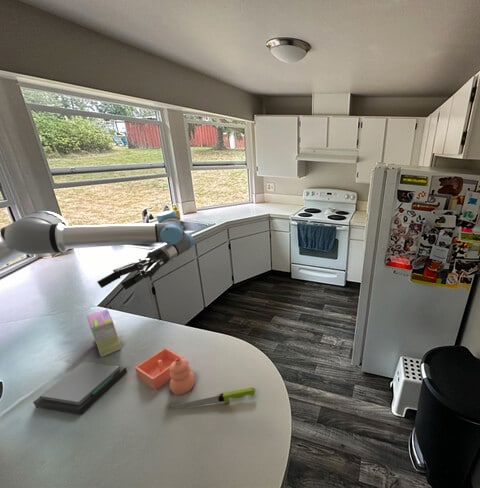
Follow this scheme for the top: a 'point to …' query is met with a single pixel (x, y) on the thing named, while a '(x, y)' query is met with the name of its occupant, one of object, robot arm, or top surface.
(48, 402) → the scale
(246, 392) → the kitchen knife
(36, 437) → the top surface
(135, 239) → the robot arm
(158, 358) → the pottery
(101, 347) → the box
